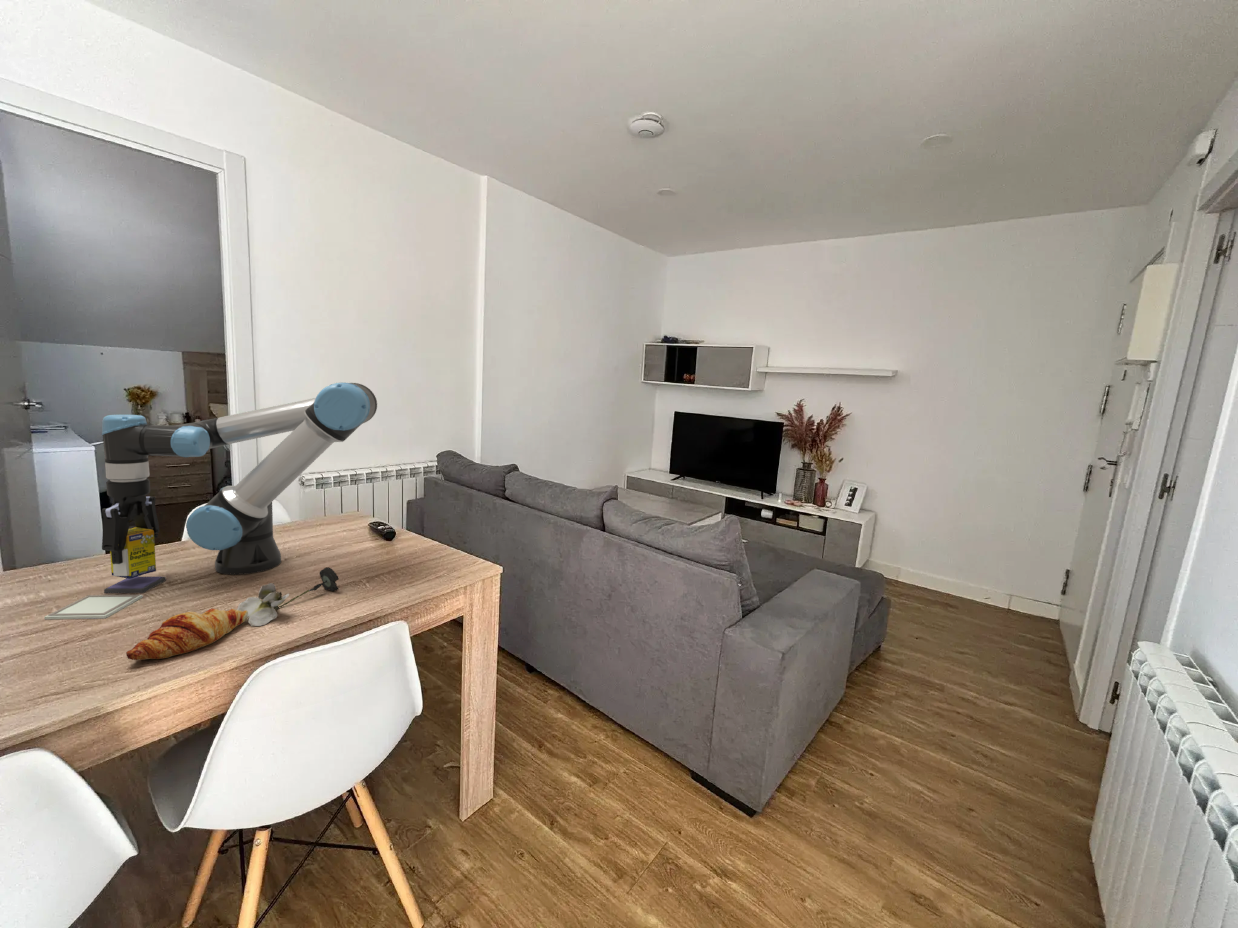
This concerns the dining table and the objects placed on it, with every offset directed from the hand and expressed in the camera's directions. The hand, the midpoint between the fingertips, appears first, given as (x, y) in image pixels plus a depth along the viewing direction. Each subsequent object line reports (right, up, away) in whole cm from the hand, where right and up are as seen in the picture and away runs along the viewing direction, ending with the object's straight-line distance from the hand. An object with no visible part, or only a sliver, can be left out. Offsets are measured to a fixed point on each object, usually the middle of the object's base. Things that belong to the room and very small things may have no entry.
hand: (134, 568), depth 124 cm
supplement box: (0, -1, 0) cm, 1 cm away
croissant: (+34, -11, -22) cm, 41 cm away
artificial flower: (+42, -9, -4) cm, 43 cm away
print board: (+2, -6, -11) cm, 13 cm away
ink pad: (0, -5, +1) cm, 5 cm away
